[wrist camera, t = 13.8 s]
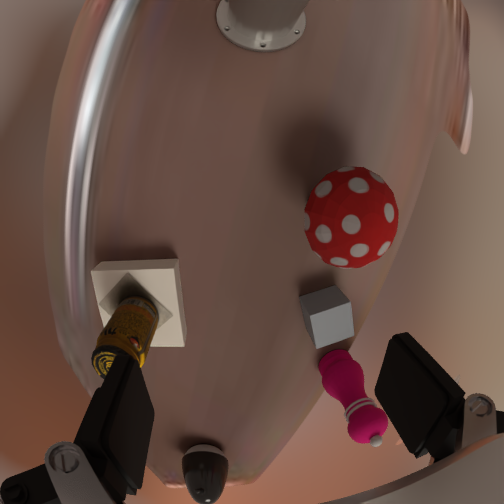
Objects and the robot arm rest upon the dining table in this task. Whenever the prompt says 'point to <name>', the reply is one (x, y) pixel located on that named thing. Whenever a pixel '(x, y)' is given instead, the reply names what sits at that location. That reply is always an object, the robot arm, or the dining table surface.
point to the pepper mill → (353, 397)
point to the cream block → (156, 284)
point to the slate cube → (327, 316)
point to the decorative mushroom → (351, 217)
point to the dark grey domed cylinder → (205, 472)
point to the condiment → (127, 324)
